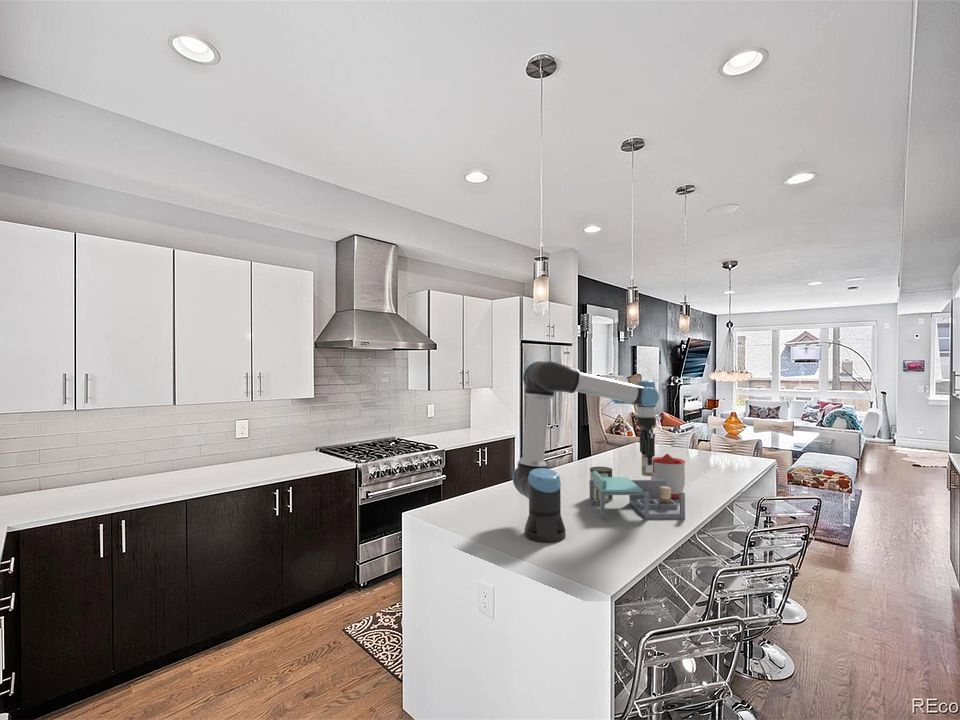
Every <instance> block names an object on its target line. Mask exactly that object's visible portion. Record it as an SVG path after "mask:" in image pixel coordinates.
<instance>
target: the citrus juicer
mask: <svg viewBox="0 0 960 720" xmlns="http://www.w3.org/2000/svg"><path fill="white" fill-rule="evenodd" d="M685 465H686V460H684V459H681V458H678V457H677V458H676V457H672V456H671V455H670V454H669V453H665V454H664V455H663V456H659V457H658V456H657V457H655V456H654V457H653V476H650V480H666V487H670V488H671V499H680V492H684V488H685V483H686V482H685V481H686V479H685V478H686V475H685V474H686V473H685V471H686V470H685V469H686V468H685V467H686V466H685Z"/></svg>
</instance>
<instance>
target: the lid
mask: <svg viewBox="0 0 960 720" xmlns="http://www.w3.org/2000/svg"><path fill="white" fill-rule="evenodd" d="M592 480H593V482H594V483H595V484H596V485H597V486H598V487H599V488H600V489H601V490H602V492H643V490H642V489H641V488H640V487H639V486H637V485H636V484H635V483H634V482H632V481H631V480H632V479H630V478H629V477H628V476H612V477H602V476H601V475H600V474H599V473H598V472H597V471H593V477H592Z"/></svg>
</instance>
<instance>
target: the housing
mask: <svg viewBox="0 0 960 720" xmlns="http://www.w3.org/2000/svg"><path fill="white" fill-rule="evenodd" d="M630 480H631V481H632V482H634V483H635V484H636V485H637V486H639V487H640V488H641V489H642V490H643V492H600V502H599V512H600V515H599V518H600V520H605V519H606V517H605V516H606V513H605V512H606V510H605V509H606V507H605V505H606V503H605V495H613V496H628V497H629V498H628V499H629V500H628V501H629V504H630V505H631V506H632V507H633V508H634V509H635V510H636V511H637V512H638V513H639V514H640V515H641V516H642V517H643V518H644V519H646V520H679V519H681V520H682V519H683V520H685V519H686V493H685V491H683V492H680V497H679V508H678V503H676V501H675V502H674V501H673V500H672V499H671V504H660V490H659V487H661V486H665V487H666V480H651V479H630ZM588 483H589V486H588V487H589V488H588V489H589V491H588V492H589V504H590V505H594V502H595V501H594V489H593V483H594V482H593V480H590V479H589V482H588Z"/></svg>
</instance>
